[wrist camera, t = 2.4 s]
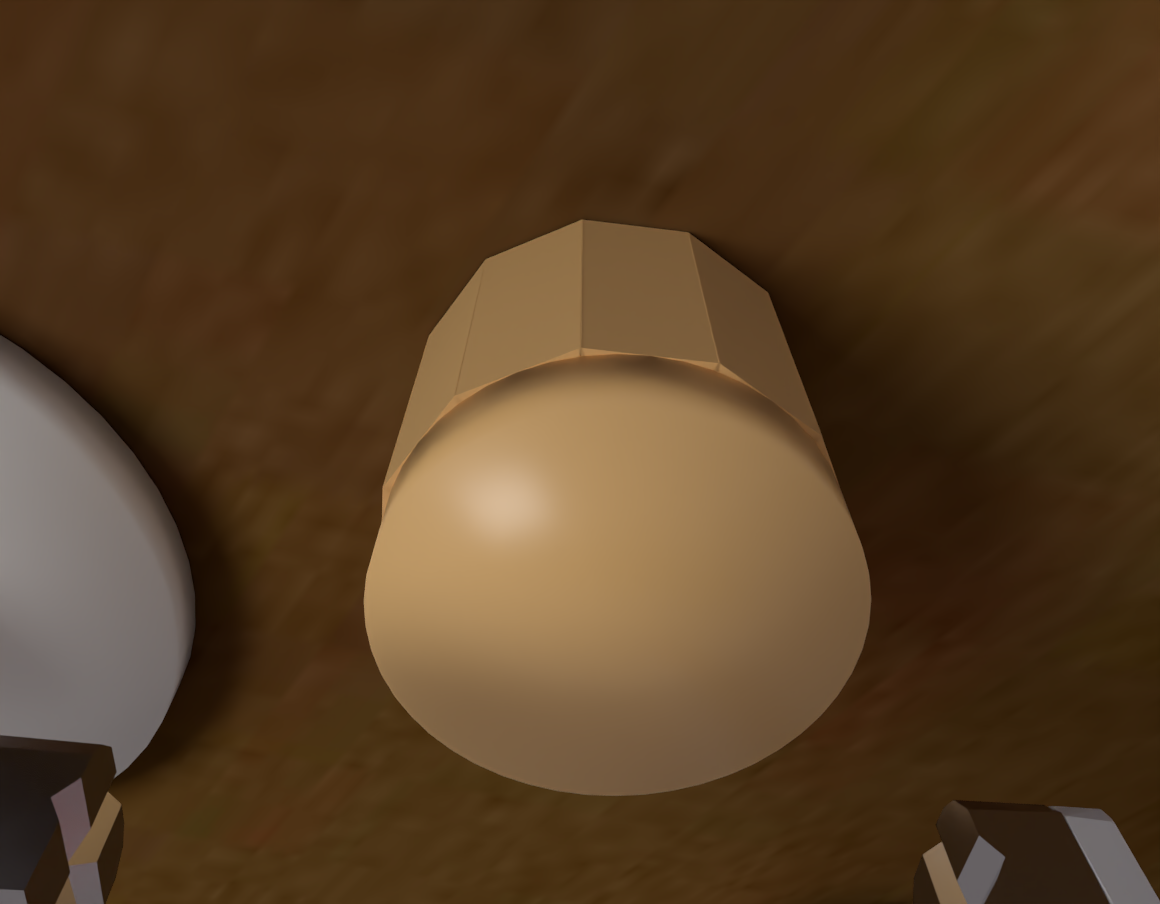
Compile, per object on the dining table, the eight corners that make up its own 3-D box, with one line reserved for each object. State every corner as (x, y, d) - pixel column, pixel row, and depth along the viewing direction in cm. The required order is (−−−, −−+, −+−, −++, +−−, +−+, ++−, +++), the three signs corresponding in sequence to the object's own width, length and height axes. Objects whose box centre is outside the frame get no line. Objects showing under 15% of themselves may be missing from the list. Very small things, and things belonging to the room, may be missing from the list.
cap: (831, 249, 15) (938, 438, 11) (749, 561, 18) (804, 814, 14) (435, 201, 15) (366, 375, 10) (419, 527, 18) (360, 775, 13)
